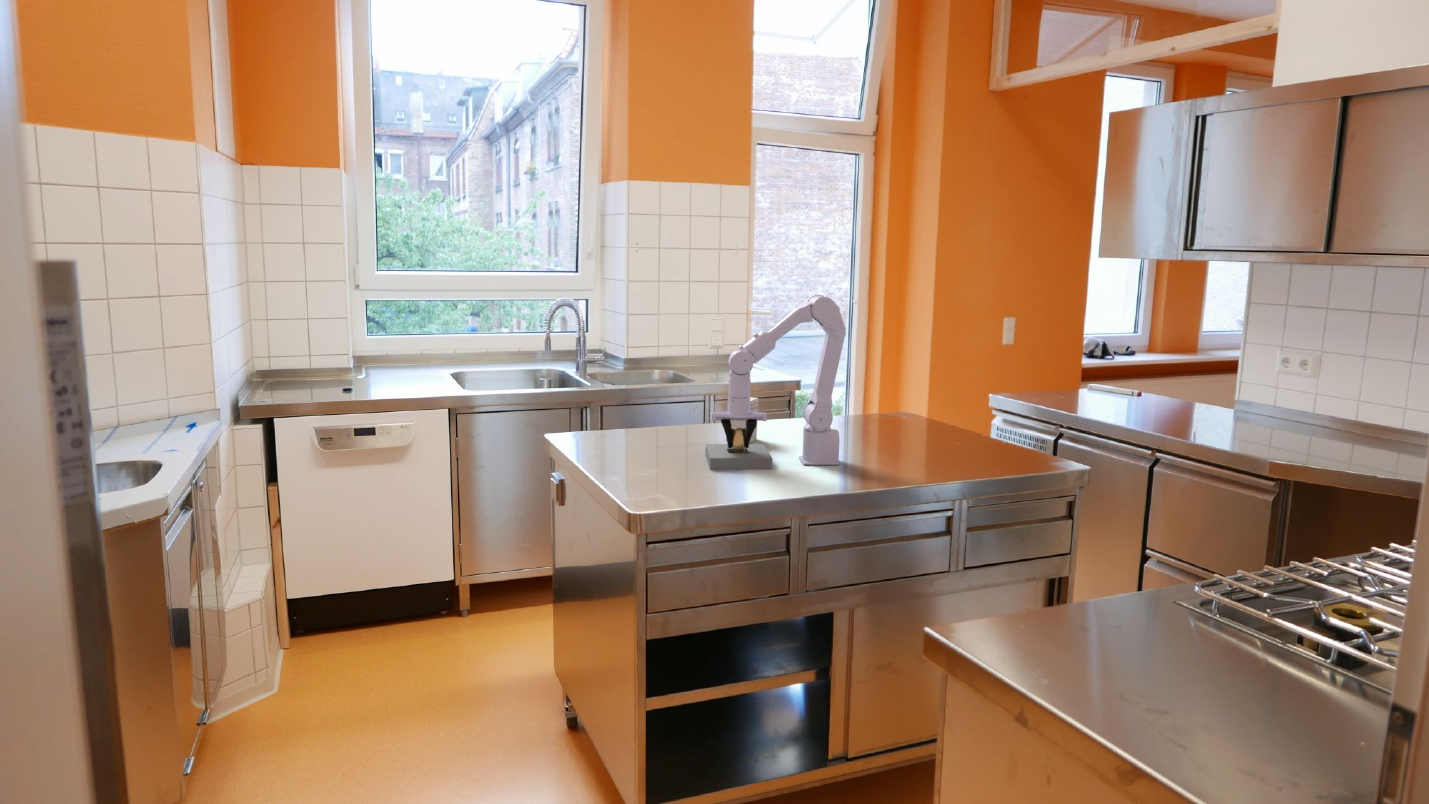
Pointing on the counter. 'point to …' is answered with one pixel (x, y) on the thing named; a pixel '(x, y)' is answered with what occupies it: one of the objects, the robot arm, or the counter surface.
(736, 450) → the brass sleeve
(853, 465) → the counter surface
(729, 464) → the jig block
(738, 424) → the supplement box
